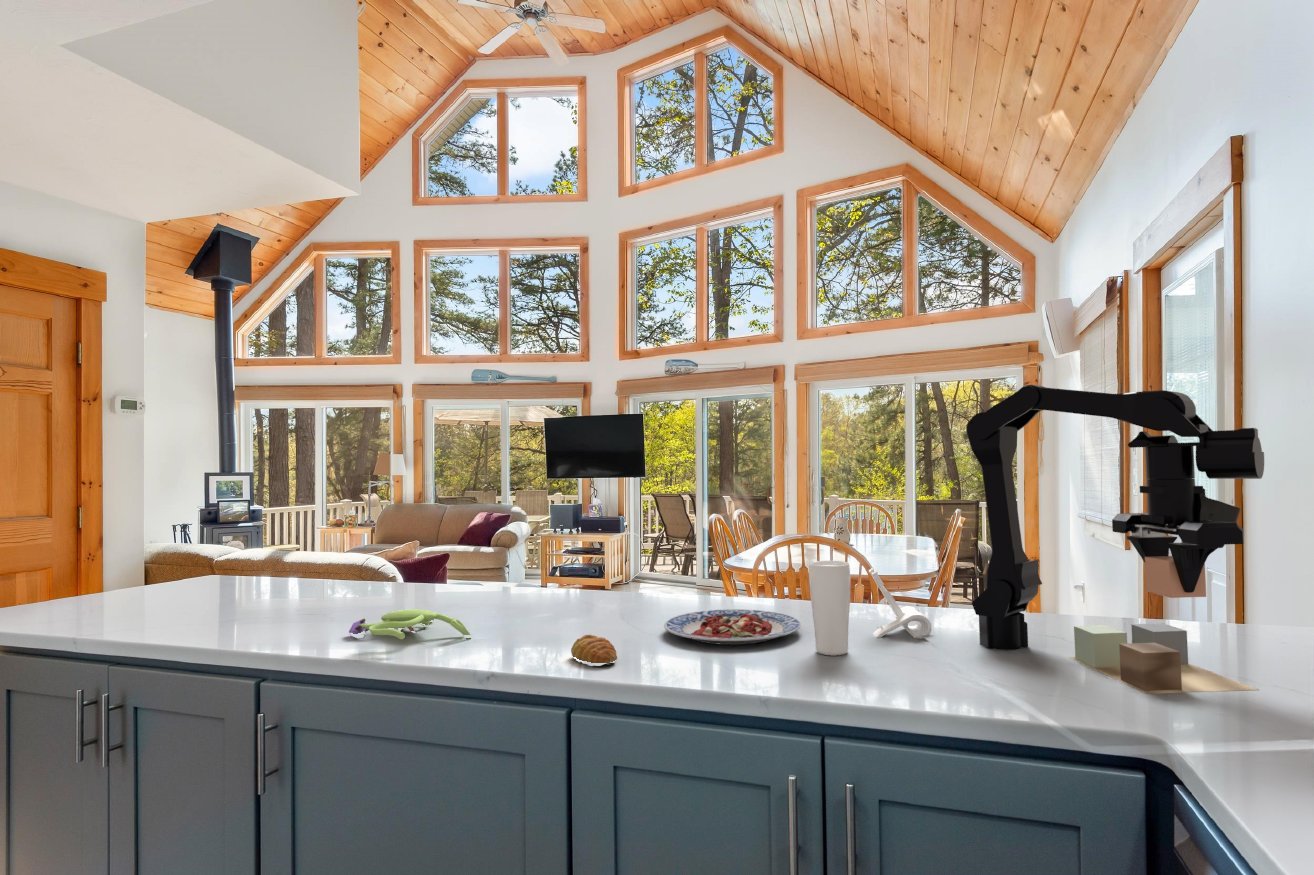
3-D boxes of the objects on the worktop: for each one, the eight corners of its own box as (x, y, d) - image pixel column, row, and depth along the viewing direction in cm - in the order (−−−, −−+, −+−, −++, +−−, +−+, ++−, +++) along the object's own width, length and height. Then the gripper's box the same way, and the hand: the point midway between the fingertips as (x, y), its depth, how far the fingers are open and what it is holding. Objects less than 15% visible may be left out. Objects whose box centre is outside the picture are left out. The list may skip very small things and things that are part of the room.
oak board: (1146, 699, 98) (1146, 693, 98) (1068, 662, 116) (1068, 657, 116) (1258, 695, 98) (1258, 689, 98) (1163, 659, 116) (1163, 654, 116)
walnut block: (1144, 690, 99) (1143, 653, 99) (1120, 679, 104) (1119, 643, 104) (1182, 689, 99) (1180, 651, 99) (1156, 678, 104) (1154, 642, 104)
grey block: (1155, 665, 110) (1153, 631, 110) (1132, 656, 115) (1131, 624, 115) (1188, 664, 110) (1186, 630, 110) (1164, 655, 115) (1163, 623, 115)
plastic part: (931, 639, 133) (929, 574, 134) (874, 638, 134) (873, 573, 135) (922, 629, 141) (920, 567, 141) (868, 628, 142) (866, 567, 142)
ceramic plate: (672, 619, 156) (672, 605, 156) (797, 620, 152) (797, 605, 152) (655, 651, 130) (655, 634, 130) (805, 652, 126) (804, 635, 127)
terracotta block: (1170, 597, 103) (1169, 561, 103) (1146, 591, 108) (1144, 556, 108) (1206, 596, 103) (1204, 560, 103) (1180, 590, 108) (1178, 555, 108)
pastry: (627, 665, 122) (626, 641, 122) (590, 672, 118) (589, 648, 118) (602, 653, 130) (601, 631, 130) (566, 659, 126) (566, 637, 127)
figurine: (378, 662, 129) (377, 629, 129) (337, 635, 150) (337, 607, 150) (478, 644, 140) (478, 614, 140) (427, 621, 161) (427, 595, 161)
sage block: (1094, 667, 110) (1093, 633, 110) (1075, 658, 115) (1073, 626, 115) (1128, 666, 110) (1126, 632, 110) (1107, 657, 115) (1105, 625, 115)
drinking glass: (854, 658, 121) (850, 566, 122) (811, 657, 123) (808, 566, 123) (851, 647, 128) (848, 560, 128) (811, 647, 129) (808, 560, 130)
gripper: (1282, 479, 97) (1288, 599, 96) (1178, 475, 115) (1183, 577, 115) (1197, 481, 96) (1203, 602, 96) (1107, 477, 115) (1112, 579, 115)
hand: (1175, 589), depth 105 cm, fingers closed on terracotta block, 5 cm apart
